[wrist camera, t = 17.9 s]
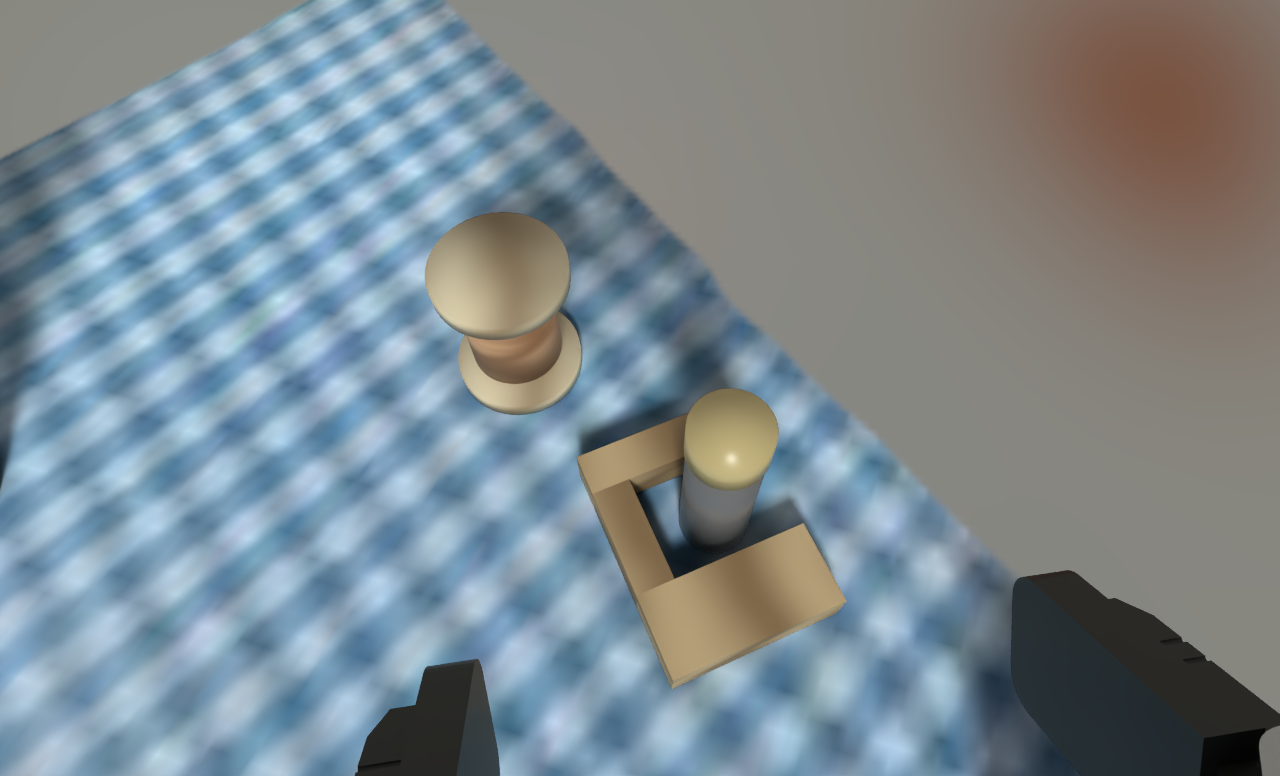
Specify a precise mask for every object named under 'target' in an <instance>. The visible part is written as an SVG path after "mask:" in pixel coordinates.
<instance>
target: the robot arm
mask: <svg viewBox="0 0 1280 776" xmlns="http://www.w3.org/2000/svg"><path fill="white" fill-rule="evenodd" d="M1011 673H1012V679H1013V683H1014V686H1015V689H1016V692H1017V695H1018V697H1019V699H1020V701H1021V703H1022V705H1023V706H1024V708H1025V709H1026V711H1027V712H1028V713H1029V714H1030V716H1031V717H1032V718H1033V719H1034V720H1035V722H1036V723H1037V724H1038V725H1039V726H1040V728H1041V729H1042V730H1043V731H1044V732H1045V734H1046V735H1047V736H1048V737H1049V738H1050V740H1051V741H1052V742H1053V743H1054V744H1055V746H1056V747H1057V748H1058V749H1059V750H1060V752H1061V753H1062V754H1063V755H1064V756H1065V758H1066V759H1067V760H1068V761H1069V762H1070V764H1071V765H1072V766H1073V767H1074V768H1075V769H1076V771H1077V772H1078V773H1079V774H1080V775H1081V776H1280V714H1279V713H1278V712H1276V711H1275V710H1274V709H1272V708H1271V707H1270V706H1268V705H1267V704H1266V703H1265V702H1264V701H1262V700H1261V699H1260V698H1258V697H1257V696H1256V695H1255V694H1253V693H1252V692H1251V691H1249V690H1248V689H1247V688H1246V687H1244V686H1243V685H1242V684H1240V683H1239V682H1238V681H1237V680H1235V679H1234V678H1233V677H1231V676H1230V675H1229V674H1228V673H1226V672H1225V671H1224V670H1223V669H1221V668H1220V667H1219V666H1217V665H1216V664H1215V663H1214V662H1212V661H1207V660H1206V658H1205V655H1203V654H1202V653H1201V652H1200V651H1198V650H1197V649H1196V648H1194V647H1193V646H1192V645H1191V644H1189V643H1188V642H1183V641H1182V638H1181V637H1180V636H1179V635H1178V634H1176V633H1175V632H1174V631H1173V630H1171V629H1170V628H1169V627H1167V626H1166V625H1165V624H1164V623H1162V622H1161V621H1160V620H1158V619H1157V618H1156V617H1155V616H1154V615H1152V614H1149V613H1147V612H1145V611H1143V610H1141V609H1138V608H1136V607H1134V606H1131V605H1129V604H1127V603H1125V602H1123V601H1121V600H1118V599H1116V598H1112V599H1107V598H1106V597H1105V596H1104V595H1102V594H1101V593H1100V592H1099V591H1098V590H1096V589H1095V588H1094V587H1093V586H1092V585H1090V584H1089V583H1088V582H1087V581H1085V580H1084V579H1083V578H1082V577H1080V576H1079V575H1078V574H1077V573H1075V572H1073V571H1069V570H1067V571H1060V572H1053V573H1047V574H1040V575H1033V576H1027V577H1021V578H1019V579H1017V581H1016V582H1015V584H1014V587H1013V598H1012V637H1011ZM355 776H500V767H499V757H498V749H497V743H496V738H495V733H494V728H493V723H492V717H491V712H490V707H489V702H488V697H487V692H486V686H485V681H484V676H483V671H482V667H481V664H480V662H479V660H478V659H473V660H467V661H460V662H454V663H447V664H441V665H434V666H427V667H426V668H425V670H424V673H423V677H422V681H421V685H420V689H419V693H418V697H417V701H416V705H413V706H407V707H400V708H394V709H390V710H389V711H388V713H387V714H386V715H385V716H384V717H383V719H382V720H381V721H380V722H379V723H378V725H377V726H376V727H375V728H374V729H373V731H372V732H371V733H370V734H369V735H368V737H367V739H366V742H365V745H364V748H363V751H362V755H361V758H360V761H359V764H358V772H357V773H355Z"/></svg>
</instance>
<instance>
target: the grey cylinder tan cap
mask: <svg viewBox="0 0 1280 776" xmlns="http://www.w3.org/2000/svg"><path fill="white" fill-rule="evenodd" d="M778 435H779V430H778V423H777V420H776V417H775V415H774V413H773V412H772V410H771V408H770V407H769V406H768V405H767V404H766V403H765V402H764V401H763V400H762V399H760V398H759V397H758V396H756V395H754V394H752V393H750V392H747V391H744V390H740V389H731V388H728V389H720V390H716V391H712V392H710V393H708V394H706V395H704V396H703V397H701V398H700V399H699V400H698V401H697V402H696V403H695V404H694V405H693V407H692V408H691V410H690V412H689V414H688V416H687V420H686V426H685V437H684V456H685V461H684V471H683V481H682V491H681V501H680V512H679V525H680V529H681V531H682V533H683V535H684V537H685V538H686V539H687V541H688V542H689V543H690V544H692V545H693V546H694V547H696V548H698V549H700V550H702V551H705V552H711V553H717V552H723V551H726V550H729V549H731V548H733V547H734V546H736V545H737V544H738V543H739V542H740V541H741V539H742V538H743V536H744V534H745V532H746V529H747V526H748V523H749V520H750V517H751V514H752V510H753V507H754V504H755V501H756V498H757V495H758V492H759V489H760V486H761V483H762V480H763V477H764V474H765V473H766V472H767V470H768V468H769V466H770V463H771V460H772V457H773V454H774V451H775V448H776V445H777V441H778Z"/></svg>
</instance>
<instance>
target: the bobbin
mask: <svg viewBox="0 0 1280 776" xmlns="http://www.w3.org/2000/svg"><path fill="white" fill-rule="evenodd" d="M570 281H571V275H570V266H569V259H568V254H567V251H566V248H565V246H564V244H563V242H562V240H561V239H560V237H559V236H558V235H557V234H556V233H555V232H554V231H553V230H552V229H551V228H550V227H549V226H547V225H546V224H544V223H543V222H541V221H539V220H537V219H535V218H532V217H529V216H526V215H522V214H517V213H508V212H499V213H489V214H484V215H480V216H476V217H473V218H471V219H468V220H466V221H464V222H462V223H460V224H458V225H457V226H455V227H454V228H452V229H451V230H449V231H448V232H447V233H446V234H445V235H444V236H443V237H442V238H441V239H440V240H439V241H438V242H437V244H436V245H435V246H434V248H433V250H432V251H431V253H430V255H429V258H428V260H427V264H426V269H425V282H426V287H427V291H428V294H429V296H430V298H431V301H432V303H433V306H434V308H435V310H436V312H437V313H438V314H439V316H440V317H441V318H442V319H443V320H444V322H445V323H447V324H448V325H449V326H450V327H452V328H453V329H455V330H456V331H458V332H460V333H462V334H465V335H464V337H463V339H462V342H461V345H460V349H459V360H458V361H459V368H460V371H461V374H462V377H463V379H464V382H465V384H466V386H467V388H468V390H469V391H470V393H471V394H472V395H473V396H474V398H475V399H476V400H477V401H479V402H480V403H481V404H483V405H484V406H486V407H487V408H489V409H492V410H494V411H497V412H500V413H504V414H510V415H524V414H531V413H536V412H539V411H542V410H544V409H547V408H549V407H551V406H553V405H554V404H556V403H557V402H559V401H560V400H561V399H563V398H564V397H565V396H566V395H567V394H568V393H569V392H570V390H571V389H572V388H573V386H574V385H575V383H576V381H577V379H578V377H579V374H580V370H581V366H582V352H581V345H580V340H579V337H578V334H577V331H576V330H575V328H574V326H573V325H572V323H571V322H570V321H569V320H568V319H567V318H566V317H565V316H564V315H563V314H561V313H560V312H559V309H560V308H561V306H562V305H563V303H564V302H565V299H566V297H567V295H568V292H569V288H570Z"/></svg>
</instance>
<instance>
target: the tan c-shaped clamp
mask: <svg viewBox="0 0 1280 776" xmlns="http://www.w3.org/2000/svg"><path fill="white" fill-rule="evenodd" d="M688 414H689V413H687V414H684V415H682V416H679V417H677V418H674V419H672V420H669V421H667V422H664V423H662V424H659V425H657V426H654V427H652V428H649V429H647V430H644V431H641V432H639V433H636V434H634V435H631V436H629V437H626V438H624V439H621V440H619V441H616V442H614V443H611V444H609V445H606V446H604V447H601V448H598V449H596V450H593V451H591V452H588V453H586V454H583V455H581V456H578V457H577V461H578V467H579V472H580V476H581V478H582V481H583V483H584V485H585V488H586V490H587V492H588V495H589V497H590V499H591V502H592V504H593V506H594V509H595V511H596V513H597V516H598V518H599V520H600V523H601V525H602V527H603V530H604V532H605V534H606V537H607V539H608V541H609V544H610V546H611V548H612V551H613V553H614V555H615V558H616V560H617V562H618V565H619V567H620V569H621V572H622V574H623V576H624V579H625V581H626V583H627V586H628V588H629V590H630V593H631V595H632V597H633V600H634V602H635V604H636V607H637V609H638V611H639V614H640V616H641V618H642V621H643V623H644V625H645V628H646V630H647V632H648V635H649V637H650V640H651V642H652V644H653V647H654V649H655V651H656V654H657V656H658V658H659V661H660V663H661V665H662V668H663V670H664V672H665V675H666V677H667V679H668V682H669V684H670V686H671V689H673V688H675V687H677V686H679V685H681V684H684V683H686V682H688V681H690V680H692V679H694V678H697V677H699V676H701V675H703V674H705V673H707V672H710V671H712V670H714V669H716V668H718V667H720V666H723V665H725V664H727V663H729V662H731V661H733V660H736V659H738V658H740V657H742V656H744V655H746V654H749V653H751V652H753V651H755V650H757V649H759V648H762V647H764V646H766V645H768V644H770V643H772V642H775V641H777V640H779V639H781V638H783V637H786V636H788V635H790V634H792V633H794V632H796V631H799V630H801V629H803V628H805V627H807V626H809V625H812V624H814V623H816V622H818V621H820V620H822V619H825V618H827V617H829V616H831V615H833V614H835V613H837V612H838V611H839V609H840V608H841V607H842V606H843V605H844V604H845V603H846V599H845V597H844V596H843V594H842V592H841V590H840V588H839V586H838V585H837V583H836V581H835V579H834V577H833V576H832V574H831V572H830V570H829V568H828V567H827V565H826V563H825V561H824V559H823V557H822V556H821V554H820V552H819V550H818V548H817V547H816V545H815V543H814V541H813V539H812V538H811V536H810V534H809V532H808V530H807V528H806V527H805V525H804V523H802V524H800V525H798V526H796V527H793V528H791V529H789V530H786V531H784V532H782V533H779V534H777V535H775V536H773V537H770V538H768V539H766V540H763V541H761V542H759V543H756V544H754V545H752V546H750V547H747V548H745V549H743V550H740V551H738V552H736V553H733V554H731V555H729V556H727V557H724V558H722V559H720V560H717V561H715V562H713V563H710V564H708V565H706V566H703V567H701V568H699V569H697V570H694V571H692V572H690V573H687V574H685V575H683V576H680V577H678V578H676V579H674V576H673V574H672V572H671V570H670V568H669V565H668V563H667V561H666V559H665V557H664V555H663V552H662V550H661V548H660V546H659V544H658V541H657V539H656V537H655V535H654V533H653V531H652V528H651V526H650V524H649V522H648V520H647V517H646V515H645V513H644V511H643V509H642V506H641V504H640V502H639V500H638V498H637V496H636V493H638V492H641V491H643V490H646V489H648V488H651V487H653V486H656V485H658V484H660V483H663V482H665V481H668V480H670V479H673V478H675V477H678V476H680V475H682V474H683V471H684V461H685V456H684V437H685V426H686V420H687V416H688Z"/></svg>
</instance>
